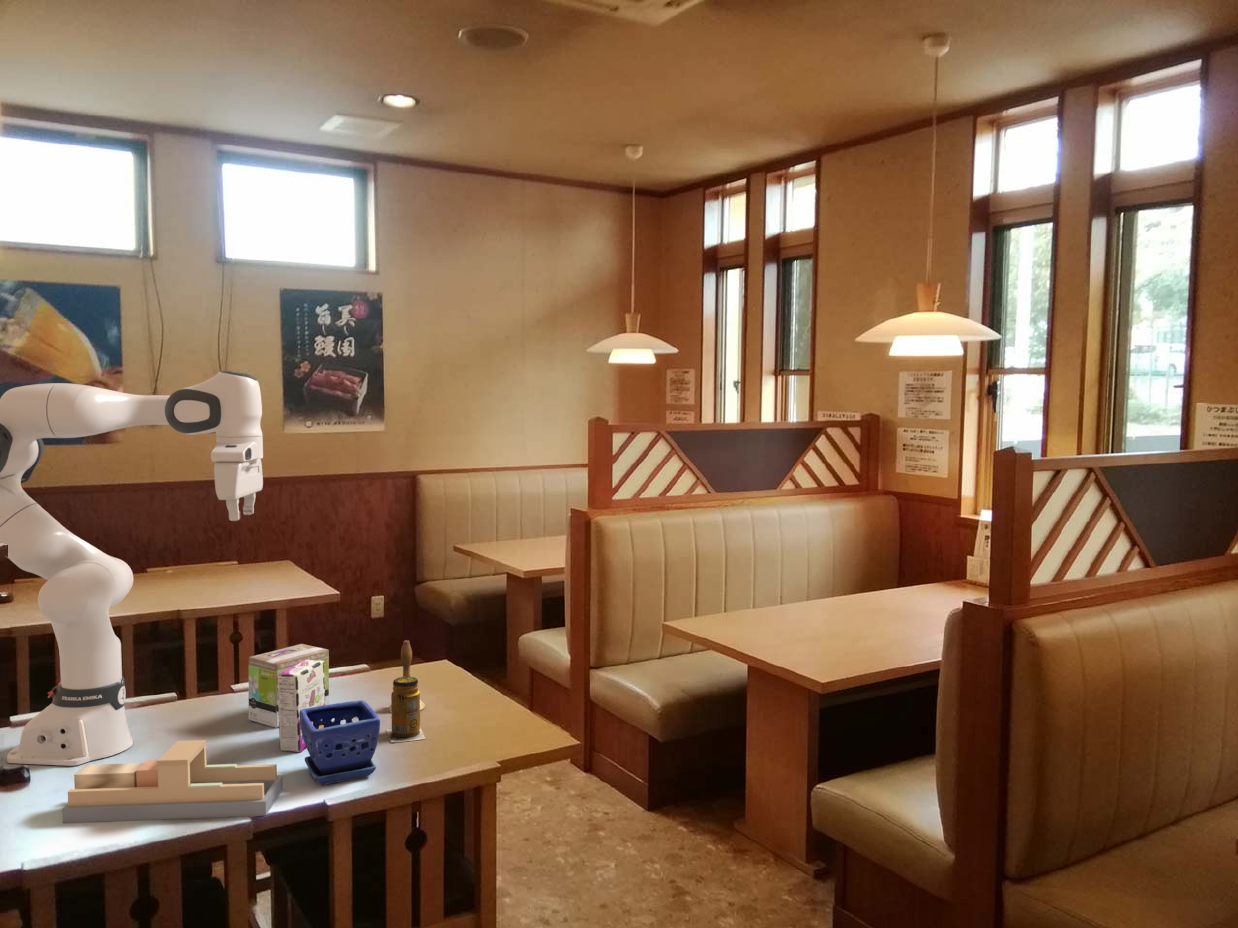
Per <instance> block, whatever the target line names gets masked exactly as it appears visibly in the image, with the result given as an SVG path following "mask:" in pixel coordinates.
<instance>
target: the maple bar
mask: <svg viewBox="0 0 1238 928" xmlns="http://www.w3.org/2000/svg"><path fill="white" fill-rule="evenodd" d="M144 763H145V762H136V763H134V762H133V763H107V764H105V763H101V764H86V765H84V766H83V767H81V769H79V770H78V771H77V772H75V774H73V777H74V778H73V779H74V789H100V788H129V787H137V779H136V770H137V769H138V768H139V767H140V766H142V765H143V764H144Z"/></svg>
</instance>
